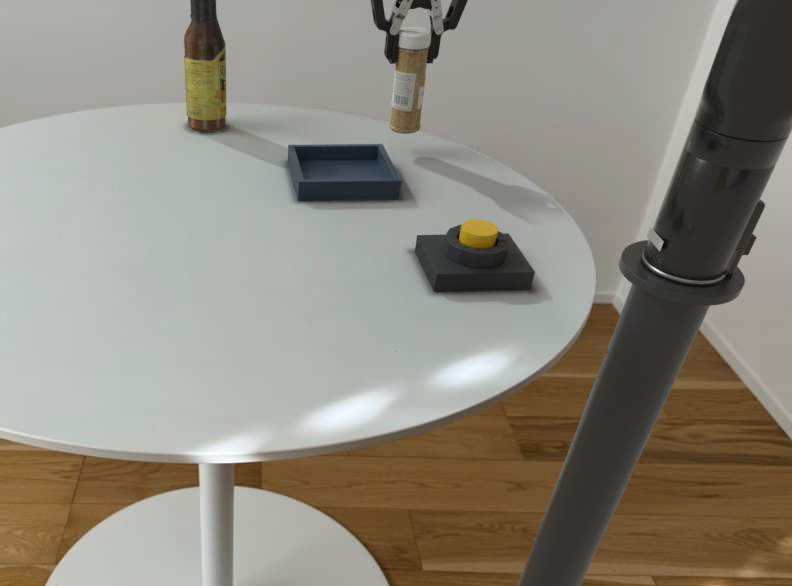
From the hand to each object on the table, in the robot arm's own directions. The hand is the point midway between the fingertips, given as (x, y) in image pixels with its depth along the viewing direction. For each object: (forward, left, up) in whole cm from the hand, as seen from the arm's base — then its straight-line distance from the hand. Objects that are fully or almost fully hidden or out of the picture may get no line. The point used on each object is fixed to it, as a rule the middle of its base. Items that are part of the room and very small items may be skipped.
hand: (410, 61), depth 109 cm
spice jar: (0, 0, -10) cm, 10 cm away
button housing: (-1, +35, -13) cm, 37 cm away
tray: (+10, +10, -13) cm, 19 cm away
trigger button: (-1, +35, -9) cm, 36 cm away
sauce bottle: (+28, -11, -13) cm, 33 cm away
